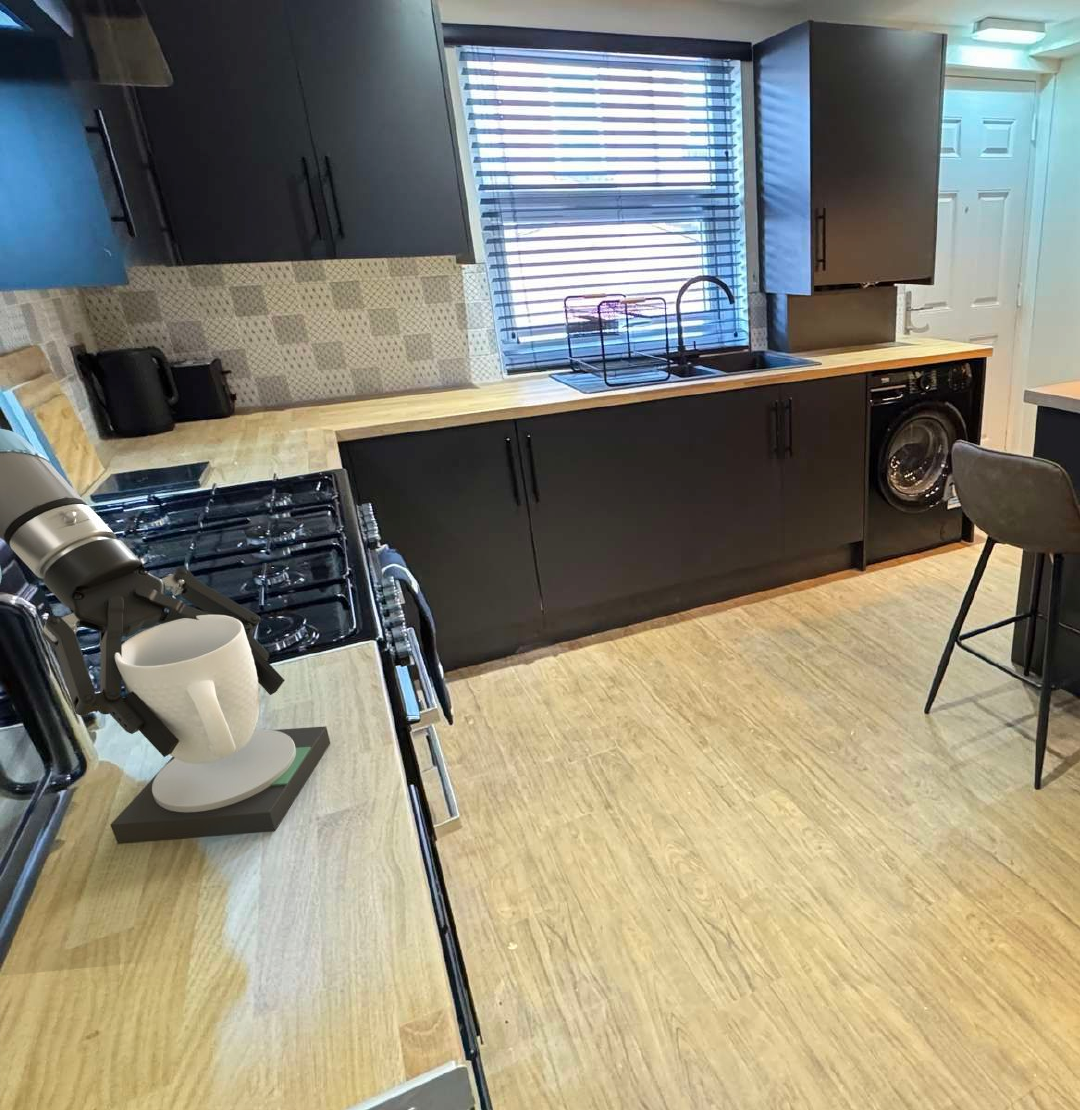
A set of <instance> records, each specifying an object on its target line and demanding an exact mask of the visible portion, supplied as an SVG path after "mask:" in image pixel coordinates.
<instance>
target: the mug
mask: <svg viewBox="0 0 1080 1110" xmlns="http://www.w3.org/2000/svg"><path fill="white" fill-rule="evenodd" d="M196 618H197V619H199V620H196V619H190V618H182V619H177V620H174V621H170V622H166V623H163V624H161V623H159V624H156V625H154V626H152V627H149V628H146V629H143V631H140V632H137V633H135V634H133V635H132V636H130V637H128V638H127V639H126V640H125V641H124V642H122V657H121V655H120V654H119V653H115V662H116V664H117V667H118V669H119V671H120V673H121V675H122V684H123V687H124V689H125V692H126V694H128V693H130V692H132V691H133V692H134V693H135V694H136V695H137V696H138V697H139V698H140V699H141V700H142V701H143V702H144V703H145V704H146V705H147V707H148V708H149V709H150V710H151V711H152V712H153V713H154V714H155V715H156V716H157V717H158V718H159V719H160V720H161V722H162V723H163V724H164V725H165V726H166V727H167V728H168V729H169V730H170V731H171V732H172V733H173V734H174V735H175V737H176V738H177V739H178V740H179V742H178V744H177V745H176V747H175V749H174V750H173V752H172V753H171V754H169V756H171V757H174V758H176V759H178V760H180V761H182V762H185V763H190V764H202V763H209V762H213V761H216V760H219V759H222V758H225V757H227V756H229V755H232V754H233V753H235V752H237V751H238V750H240V749H241V748H242V747H244V746H245V745H246V744H247V742H248V741H249V740H250V738H251V736H252V734H253V732H254V730H256V727H257V723H258V720H259V715H260V714H259V712H260V702H261V700H260V698H261V697H260V684H259V683H258V677H257V671H256V667H255V664H254V659H253V655H252V653H251V648H250V645H249V642H248V640H247V636H246V633H245V629H244V627H243V624H242V623H241V622H240V621H239V620H237V619H235V618H233V617H229V616H225V615H200V616H196Z"/></svg>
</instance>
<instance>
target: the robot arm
mask: <svg viewBox="0 0 1080 1110" xmlns="http://www.w3.org/2000/svg"><path fill="white" fill-rule="evenodd" d="M0 539H1V540H3V541H4V542H5V543H6V545H8V546H9V548H10V549H11V550H12V551H13V552H14V553H15V554H16V555H17V556H18V557H19V558H20V560H21V561H22V562H23V563H24V564H25V565H26V566H27V567H28V568H29V569H30V571H32V572H33V574H34V575H35V576H36V577H37V578H38V579H42V580H43V584H44V585H45V586H46V588H47V589H48V590H49V591H50V593H52V594H53V595H54V596H55V597H56V598H57V599H58V600H59V602H60V603H61V604H62V605H63V606H64V607H66V608H68V609H69V611H70V613H69V614H66V615H63V616H60V615H59V616H58V615H50V616H48V617H47V619H46V620H45V622H44V626H43V628H42V630H41V631H42V632H41V636H42V637H43V639H45V640H46V642H47V643H48V644H49V645H50V646H51V647H52V648H53V649H54V651H55V654H56V657H57V661H58V663H59V666H60V669H61V673H62V677H63V680H64V682H65V685H66V689H67V691H68V695H69V698H70V701H71V704H72V707H73V710H74V713H75V714H76V715H78V716H80V717H86V716H88V715H90V714H91V713H94V712H95V713H96V712H99V714H101V715H110V716H111V717H112V719H114V721H116V722H117V724H119V726H120V727H121V728H122V729H123V730H124V731H125V732H126V733H128V734H131V735H133V734H135V733H137V732H140V733H141V734H142V736H144V737H145V739H146V740H147V741H148V742H149V743H150V744H151V745H152V746H153V747H154V748H155V749H156V750H157V751H158V752H159V754H160V755H161V756H162V757H163V758H165V757H167V756H170V754H171V753H172V752H173V750H174V749H175V747H176V745H177V744H178V742H179V740H178V739H177V738H176V737H175V735H174V734H173V733H172V732H171V731H170V730H169V729H168V728H167V727H166V726H165V725H164V724H163V723H162V722H161V720H160V719H159V718H158V717H157V716H156V715H155V714H154V713H153V712H152V711H151V710H150V709H149V708H148V707H147V705H146V704H145V703H144V702H143V701H142V700H141V699H140V698H139V697H138V696H137V695H136V694H135V693H134V692H133V691H132V692H130V693H128V694H127V693H126V694H125V695H124V696H122V691H123V689H122V686H123V685H122V684H123V681H122V675H121V673H120V671H119V669H118V667H117V664H116V662H115V653H119V654H120V655H121V657H122V644H123V637H124V638H130V637H132V636H134V635H136V634H137V633H138V632H139V631H141V630H146V629H149V628H152V627H154V626H157V625H158V624H163V623H166V622H170V621H174V620H177V619H182V618H190V619H196V620H199V619H197V618H196V616H200V615H225V616H229V617H233V618H235V619H237V620H239V621H240V622H241V623H242V624H243V627H244V629H245V633H246V636H247V640H248V642H249V645H250V648H251V653H252V655H253V659H254V664H255V667H256V671H257V677H258V684H259V686H260V687H262V688H263V690H265V692H266V693H268V695H269V696H272V695H273V694H275V693H277V692H278V690H279V689H280V688H281V686H282V685H283V684H284V682H285V679H284V678H283V677H282V675H280V673H279V672H278V671H277V670H276V669H275V668H274V667H273V666H272V664H270V662H268V659H269V658H270V654H269V652H268V650H266V648H264V647H263V646H262V644H261V643H260V642H259V641H258V640H257V639H256V638H255V636H253V633H254V631H255V630H256V628H257V627H258V626H259V624H260V622H261V617H260V616H259V615H258V614H256V613H255V612H253V611H251V610H250V609H248V608H246V607H244V606H243V605H241V604H239V603H237V602H236V601H234V600H232V599H230V598H229V597H227V596H225V595H224V594H222V593H220V592H219V591H217V590H215V589H214V588H212V587H210V586H208V585H206V584H205V583H203V582H201V581H199V579H197V578H196V576H195V575H194V573H192V572H191V571H190V570H189V569H188V568H187V567H184V566H180V567H178V568H176V570H175V572H174V573H173V574H170V575H167V576H165V577H161V578H159V577H157V576H155V575H153V574H151V573H150V572H149V571H148V570H147V569H146V567H145V565H144V564H143V562H142V561H141V560H140V559H139V558H138V556H137V555H135V553H134V552H133V551H132V550H131V549H130V548H129V547H128V546H127V545H126V544H125V543H124V542H123V541H122V540H120V539H117V535H116V534H115V532H113V530H112V529H111V528H110V527H109V526H108V525H107V524H106V523H105V522H104V520H103V519H102V518H101V517H100V516H99V515H98V514H97V513H96V512H95V511H94V510H93V509H92V508H91V507H90V505H88V504H87V502H86V501H85V500H84V499H83V498H82V497H81V496H80V495H79V494H78V492H77V491H76V490H75V489H74V488H73V487H72V486H71V485H70V484H69V482H68V481H67V480H66V479H65V478H64V477H63V476H62V474H61V473H59V472H58V470H57V469H56V468H55V467H54V466H53V465H52V463H51V461H50V460H49V459H48V458H47V457H45V455H43V454H41V453H40V452H39V451H38V450H37V448H35V447H34V446H33V445H32V444H31V443H30V442H29V441H28V440H27V439H26V438H24V436H22V435H20V434H19V433H17V432H14V431H12V430H9V429H4V428H0ZM2 578H3V577H2V568H1V566H0V584H1V583H2ZM166 591H169V592H172V595H174V596H178V595H179V596H180V597H181V598H182V599H184V600H185V601H187V602H188V603H190V604H192V605H193V606H195V607H197V608H195V607H193V606H190V605H187V604H185V603H184V602H183V601H182V600H180V599H178V598H175V597H173V596H169V595H167V594H166ZM165 610H168V611H165ZM78 626H79V627H81V628H84V629H85V628H86V629H89V630H92V631H96V632H99V650H100V667H99V668H100V669H99V670H100V673H99V674H100V675H99V676H100V677H99V692H96V691H95V689H94V685H93V682H92V679H91V675H90V672H89V670H88V667H87V664H86V660H85V658H84V654H83V651H82V649H81V645H80V642H79V639H78V637H77V632H78V630H79V628H78Z"/></svg>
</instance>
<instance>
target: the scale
mask: <svg viewBox="0 0 1080 1110" xmlns="http://www.w3.org/2000/svg"><path fill="white" fill-rule="evenodd" d="M330 745H331V739H330V735H329V731H328V726H327V725H325V726H312V727H298V728H297V727H296V728H295V727H294V728H282V729H261V728H260V729H255V730H254V732H253V734H252V736H251V738H250V740H249V741H248V742H247V744H246V745H245V746H244V747H242V748H241V749H240V750H238V751H237V752H235V753H233V754H232V755H229V756H227V757H225V758H222V759H219V760H216V761H213V762H209V763H202V764H190V763H185V762H182V761H180V760H178V759H176V758H174V757H173V756H171V757H170V758H169V760H168V761H167V762H166V763H165V764H164V766H163V767H162V768H161V769H159V771H158V772H157V773H156V774H155V775H154V776H153V777H152V779H150V780H149V782H148V783H147V784H146V785H145V786H144V787H143V788H142V789H141V790H140V792H139V793H138V794H137V795H136V796H135V797H134V798H133V799H132V800H131V801H130V802H129V804H128V805H127V806H126V807H125V808H124V809H123V810H122V812H120V813H119V814H118V815H117V817H116V818H115V819H114V820H113V821H112V822H111V823H110V828H111V831H112V833H113V835H114V838H115V841H116V843H117V844H118V845H119V844H130V843H132V844H133V843H143V842H154V841H156V842H157V841H167V840H168V841H169V840H180V839H182V840H183V839H191V838H205V837H218V836H229V835H242V834H255V833H264V832H267V833H268V832H275V831H276V830H277V829H278V827H279V825H281V822H282V821H283V819H284V817H285V816H286V814H287V813H288V811H289V810H290V808H291V806H292V805H293V803H294V802H295V800H296V799H297V797H298V795H299V794H300V792H301V791H302V789H303V787H304V786H305V784H306V782H307V781H308V779H309V778H310V776H311V775H312V773H313V772H314V770H315V768H316V767H317V765H318V763H319V762H320V760H321V759H322V757H323V756H324V754H325V753H326V751H327V749H328V748H329V746H330Z"/></svg>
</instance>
